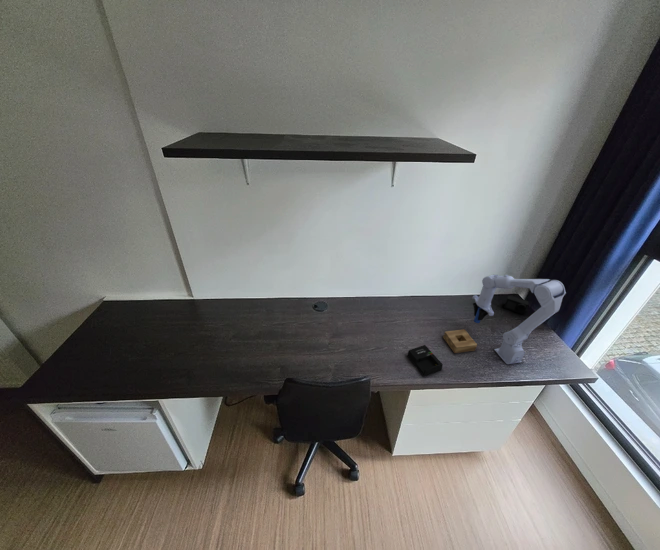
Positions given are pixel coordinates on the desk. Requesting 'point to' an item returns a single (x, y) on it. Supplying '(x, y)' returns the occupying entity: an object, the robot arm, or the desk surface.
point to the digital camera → (516, 304)
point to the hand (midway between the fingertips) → (478, 317)
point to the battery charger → (424, 360)
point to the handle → (477, 316)
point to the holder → (459, 341)
